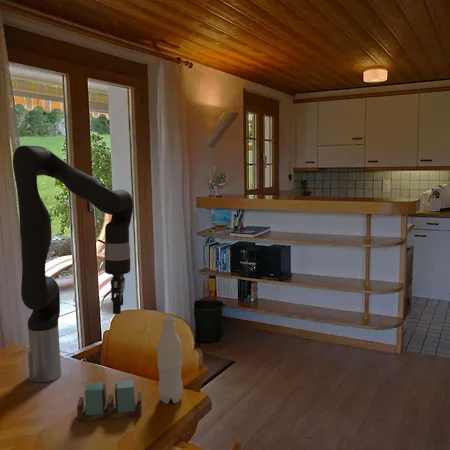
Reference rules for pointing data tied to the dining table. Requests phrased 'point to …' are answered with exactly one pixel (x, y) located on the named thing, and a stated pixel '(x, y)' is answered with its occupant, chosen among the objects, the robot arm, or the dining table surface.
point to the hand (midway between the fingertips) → (118, 309)
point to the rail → (108, 410)
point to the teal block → (125, 396)
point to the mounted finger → (95, 398)
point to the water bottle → (169, 363)
